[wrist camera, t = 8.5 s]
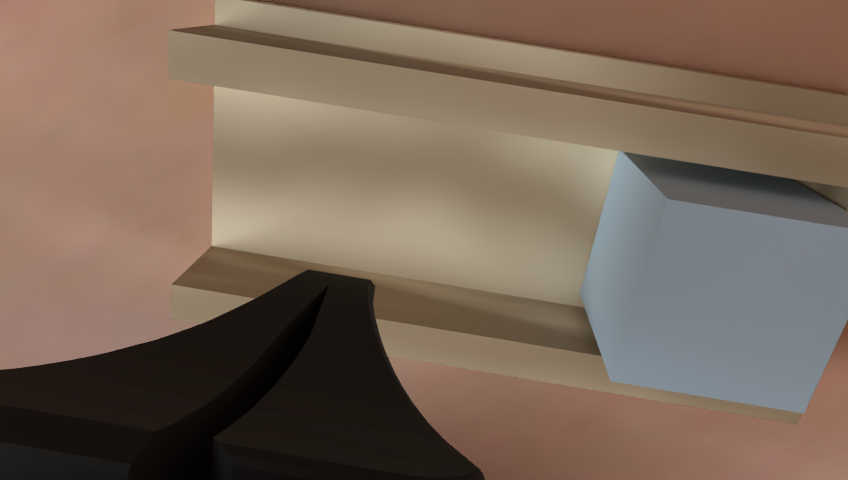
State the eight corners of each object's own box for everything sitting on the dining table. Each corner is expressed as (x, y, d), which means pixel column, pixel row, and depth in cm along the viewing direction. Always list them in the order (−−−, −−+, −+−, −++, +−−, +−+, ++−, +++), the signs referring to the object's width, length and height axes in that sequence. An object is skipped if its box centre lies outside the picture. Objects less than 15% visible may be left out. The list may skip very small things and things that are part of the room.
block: (728, 318, 20) (803, 413, 16) (579, 293, 20) (610, 381, 16) (783, 174, 18) (887, 234, 14) (619, 148, 19) (667, 199, 14)
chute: (735, 370, 22) (787, 445, 19) (222, 285, 23) (172, 342, 19) (846, 93, 18) (939, 118, 15) (228, -4, 19) (167, -4, 15)
